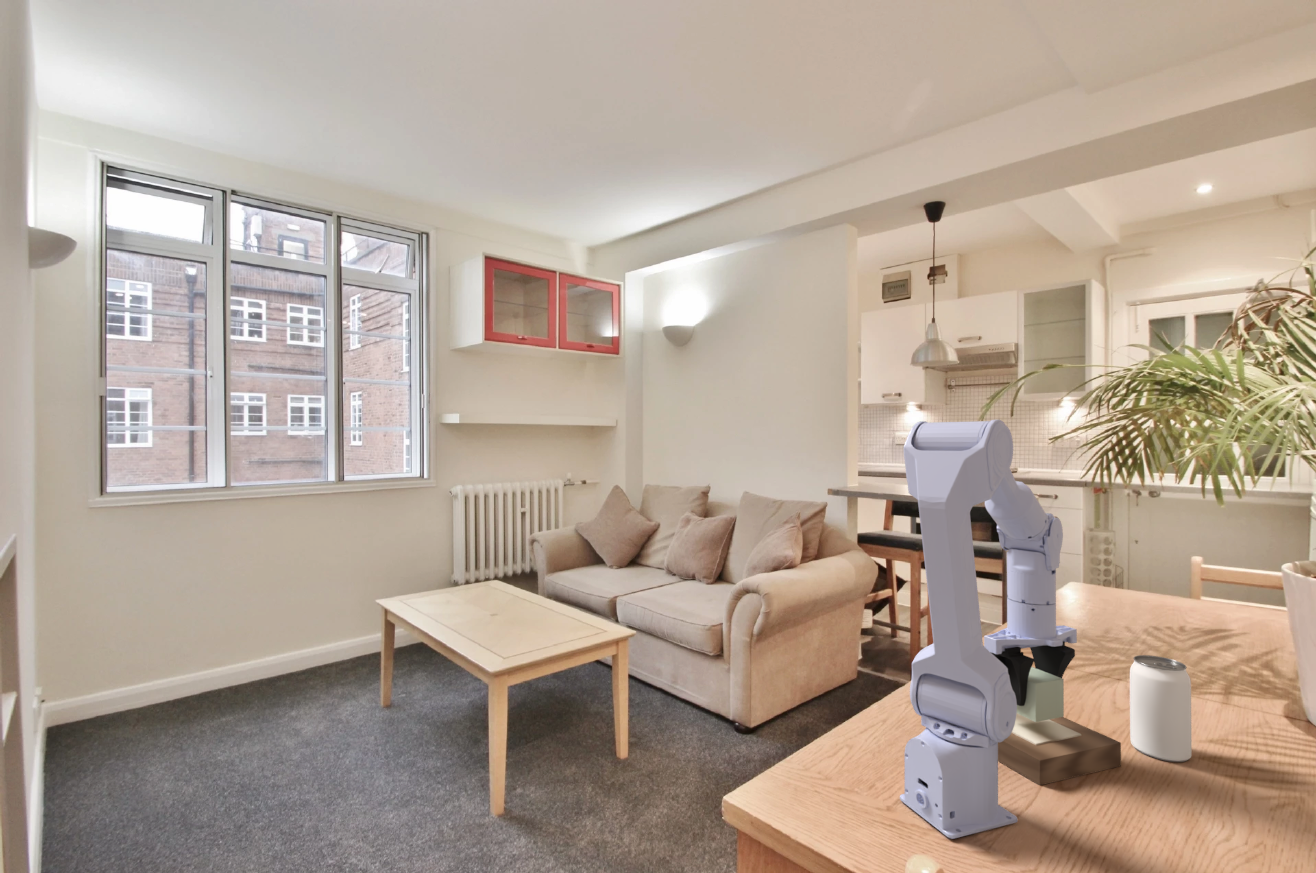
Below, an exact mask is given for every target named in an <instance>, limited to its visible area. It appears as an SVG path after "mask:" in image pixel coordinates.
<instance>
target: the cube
mask: <svg viewBox="0 0 1316 873" xmlns="http://www.w3.org/2000/svg"><path fill="white" fill-rule="evenodd" d="M1064 683H1065V682H1064V678H1063V677H1062V678H1060V677H1057V676H1054V675H1052V674H1049V673H1047V672H1044V671H1042V670H1039V669H1036V668H1035V666H1034V667H1033V666H1032V667H1031V669H1030V672H1029V676H1028V681H1027V694H1026V701H1025V705H1024V706H1019V705H1017V714H1020V715H1022V716H1024V717H1026V718H1028V719H1030V720H1032V721H1034V722H1039V721H1044V720H1049V719H1054V718H1059V717H1064V712H1065V707H1064V706H1065V703H1064V699H1065V698H1064V696H1065V695H1064V692H1065V691H1064V686H1065V685H1064ZM1064 718H1065V717H1064Z"/></svg>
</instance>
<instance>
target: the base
mask: <svg viewBox="0 0 1316 873" xmlns="http://www.w3.org/2000/svg"><path fill="white" fill-rule="evenodd" d="M1121 744H1122V743H1121V742H1120V741H1118V740H1116V739H1113V738H1111V737H1110V736H1107V735H1105V734H1102V733H1101V732H1099V731H1095V730H1094V729H1091V728H1090V727H1087V726H1085V725H1082V724H1080V723H1078V722H1076V721H1073V720H1071V719H1069V718H1067V717H1059V718H1054V719H1049V720H1044V721H1039V722H1034V721H1032V720H1030V719H1028V718H1026V717H1024V716H1022V715H1020V714H1016V721H1015V725H1014V728H1013V730H1012V733H1011V734H1010V736H1009V737H1008V738H1006V739H1005V740H1004V741H1002V742H998V763H1000V764H1002V765H1004V766H1005V767H1007V768H1009V769H1011V770H1013V771H1014V772H1016V773H1018V774H1019V775H1021V776H1023V777H1025V778H1026V779H1028V780H1030V781H1032V782H1034V784H1037V785H1038V786H1042V785H1046V784H1050V783H1055V782H1059V781H1063V780H1068V779H1071V778H1072V779H1073V778H1075V777H1081V776H1084V775H1088V774H1093V773H1096V772H1097V773H1098V772H1102V771H1105V770H1110V769H1114V768H1118V767H1121V765H1122V763H1121V762H1122V751H1121V749H1122V747H1121V746H1122V745H1121Z"/></svg>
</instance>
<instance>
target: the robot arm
mask: <svg viewBox="0 0 1316 873" xmlns="http://www.w3.org/2000/svg"><path fill="white" fill-rule="evenodd" d="M1013 456H1014V441H1013V435H1012V432H1011V430H1010V428H1009V427H1008V425H1006V423H1005V422H1004V421H1003V420H1001V419H991V420H983V421H982V420H981V421H980V420H978V421H973V420H972V421H971V420H970V421H937V422H936V421H934V422H930V421H929V422H927V421H924V420H922V421H917V422H916V423H914V425H913V426H912V427H911V429H910V430H909V432H908V435H907V437H906V440H905V442H904V445H903V458H904V465H905V466H904V467H905V476H906V482H907V489H908V494H909V495H910V496H911V497H913V498H914V499H916V500H917V505H918V512H919V513H918V514H919V522H920V532H921V541H922V551H923V557H924V558H923V559H924V567H925V568H924V569H925V578H926V585H927V586H926V587H927V594H928V595H927V597H928V604H929V615H930V624H931V632H932V633H931V634H932V641H933V642H932V644H929V645H927V646H925V647H923V648H922V649H921V650H919V652H918V653H917V654H916V655H915V656H914V659H913V661H912V662H911V680H910V686H909V698H910V703H911V705H912V708H913V711H914V712H915V713H916V714H917V715H918V716H920V717H921V718H920V725H921V726H923V727H925V729H924V730H923V731H922V732H920V734H918V735H916V736H914V737H912V738H910V739H909V740H908V741H907V743H906V745H905V748H904V793H902V794H900V795H899V800H900V801H901V802H902V803H904V805H906V806H907V807H908V808H910V809H911V810H912V811H913V812H915V813H916V814H918V815H919V816H920V817H922V819H924V820H925V821H926V822H928V823H929V824H931V826H933V827H935V828H936V829H937V830H938V831H940V833H942V834H943V835H944V836H946V837H947V838H948V839H953V840H954V839H957V838H960V837H961V838H962V837H965V836H970V835H973V834H977V833H982V832H985V831H989V830H993V829H996V828H1000V827H1004V826H1008V825H1012V824H1015V823H1018V817H1017V816H1016V815H1015V814H1014V813H1012V812H1010V811H1009V810H1007V809H1006V808H1004V807H1002V806H1001V805H999V762H998V742H1002V741H1004V740H1005V739H1006V738H1008V737H1009V736H1010V734H1011V733H1012V730H1013V728H1014V725H1015V721H1016V714H1017V705H1019V706H1024V705H1025V701H1026V694H1027V681H1028V676H1029V672H1030V669H1031V667H1033V665H1034V668H1036V669H1039V670H1042V671H1044V672H1047V673H1049V674H1052V675H1054V676H1057V677H1060V678H1062V679H1063V676H1064V674H1065V672H1066V670H1067V668H1068V666H1069V665H1070V663H1071V662H1072V660H1074V658H1075V657H1076V650H1075V649H1074V648H1073V647H1070V646H1066V643H1068V644H1077V643H1078V642H1077V641H1078V639H1077V638H1078V637H1077V634H1078V633H1077V631H1078V630H1077V628H1074V627H1071V626H1067V625H1057V582H1056V581H1057V573H1056V572H1057V569H1058V568H1059V567H1060V563H1061V550H1062V547H1063V546H1062V545H1063V537H1064V532H1063V524H1062V521H1061V519H1060V518H1058V517H1055V516H1054V514H1053V513H1049V512H1048V513H1047V512H1045V509H1044V508H1043V507H1042V505H1041V504H1040V502H1039V500H1038V499H1037V496H1036V495H1035V494H1034V493H1033V490H1032V489H1031V487H1029V486H1028V485H1027V484H1026V483H1024V482H1023V481H1018V480H1016V479H1015V477H1014V474H1013V472H1012V469H1011V465H1012V463H1013ZM981 503H984V507H985V510H986V511H987V513H988V515H990V517H991V518H992V520H993V521H994V522H995V523H996V532H997V534H998V539H999V544H1000V547H1001V549H1003V551H1007V552H1006V572H1007V573H1006V628H1002V629H1001V630H998V631H997V632H994V633H991V634H985V635H984V636H983V632H982V623H981V612H980V602H979V593H978V592H979V591H978V582H977V573H976V563H975V562H976V561H975V560H976V559H975V553H974V552H975V550H974V540H973V530H972V522H971V520H972V519H971V510H972V509H973V507H974V506H976V505H979V504H981ZM983 638H984V640H983ZM1028 648H1030V650H1031V655H1032V657H1030V656H1028V655H1024V652H1023V651H1022V649H1028Z"/></svg>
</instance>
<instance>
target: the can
mask: <svg viewBox="0 0 1316 873" xmlns="http://www.w3.org/2000/svg"><path fill="white" fill-rule="evenodd" d="M1129 736H1130V737H1129V739H1130V743H1131V745H1132V746H1133V748H1134V749H1135V750H1136V751H1138V752H1139V753H1141V754H1143V755H1145V756H1148V757H1150V758H1153V759H1156V760H1160V761H1165V762H1170V763H1185V762H1187V761H1188V760H1190V759H1191V758H1192V746H1193V745H1192V681H1191V677H1190V675H1189V674H1188V672H1187V664H1184V663H1182V662H1181V661H1178V660H1175V659H1172V658H1168V657H1163V656H1158V655H1149V654H1146V655H1145V654H1144V655H1142V654H1140V655H1135V656H1134V657H1133V663H1132V664H1131V666H1130V668H1129Z"/></svg>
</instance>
